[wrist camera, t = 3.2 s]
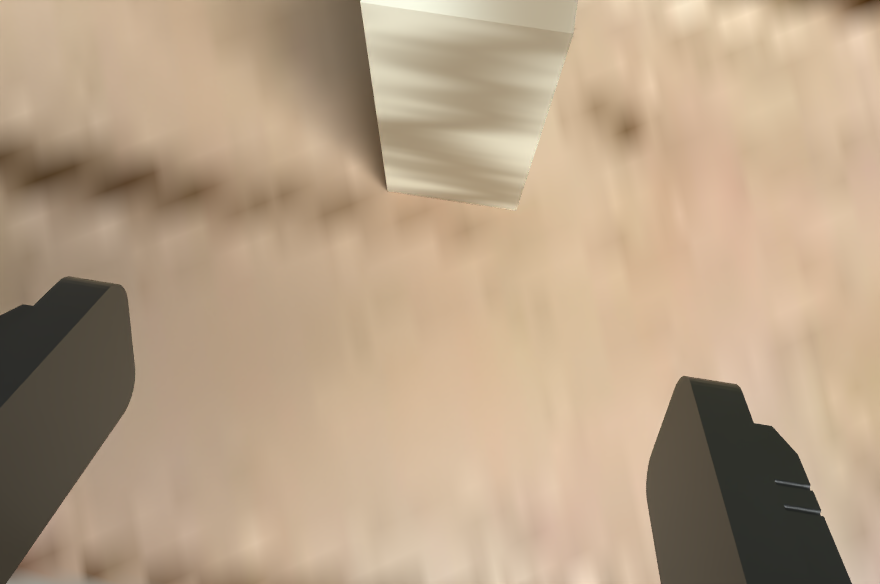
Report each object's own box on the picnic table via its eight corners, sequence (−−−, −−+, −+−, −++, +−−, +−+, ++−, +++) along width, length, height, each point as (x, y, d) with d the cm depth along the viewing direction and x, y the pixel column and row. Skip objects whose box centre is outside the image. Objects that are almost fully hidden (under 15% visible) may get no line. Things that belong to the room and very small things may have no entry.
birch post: (387, 191, 27) (360, 2, 16) (408, 74, 28) (396, -174, 17) (516, 210, 27) (573, 33, 16) (532, 93, 28) (596, -147, 17)
